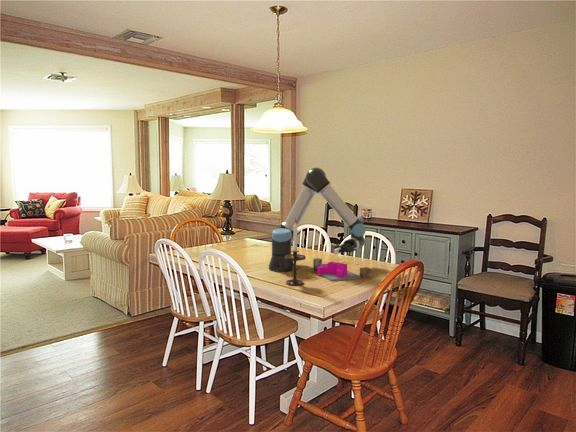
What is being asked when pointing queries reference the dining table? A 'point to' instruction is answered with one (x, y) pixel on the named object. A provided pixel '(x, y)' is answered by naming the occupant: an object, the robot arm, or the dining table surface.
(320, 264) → the metal peg
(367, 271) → the walnut cube
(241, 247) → the dining table surface
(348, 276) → the slate mat
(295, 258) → the candlestick
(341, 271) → the toy block
